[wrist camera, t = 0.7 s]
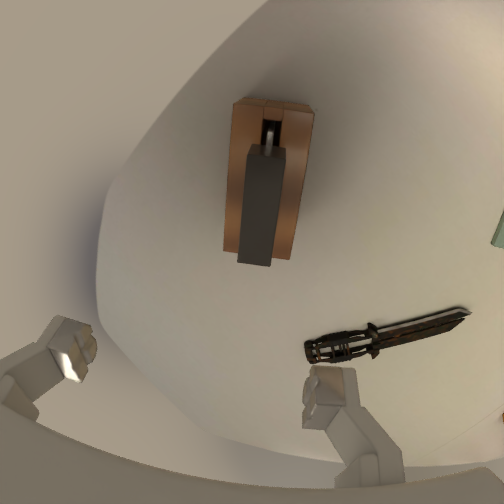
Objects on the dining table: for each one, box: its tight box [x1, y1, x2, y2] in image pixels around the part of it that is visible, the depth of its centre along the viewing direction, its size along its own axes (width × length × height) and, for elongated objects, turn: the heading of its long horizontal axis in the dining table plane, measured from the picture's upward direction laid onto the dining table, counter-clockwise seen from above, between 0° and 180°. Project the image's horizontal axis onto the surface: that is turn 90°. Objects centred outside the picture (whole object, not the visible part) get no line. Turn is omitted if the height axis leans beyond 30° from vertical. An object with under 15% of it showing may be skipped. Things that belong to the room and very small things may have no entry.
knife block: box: [223, 97, 314, 260], centre depth 27 cm, size 13×6×6 cm, turn 175°
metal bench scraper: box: [237, 120, 286, 267], centre depth 25 cm, size 10×2×10 cm, turn 175°
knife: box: [304, 308, 472, 364], centre depth 40 cm, size 25×6×1 cm, turn 103°
